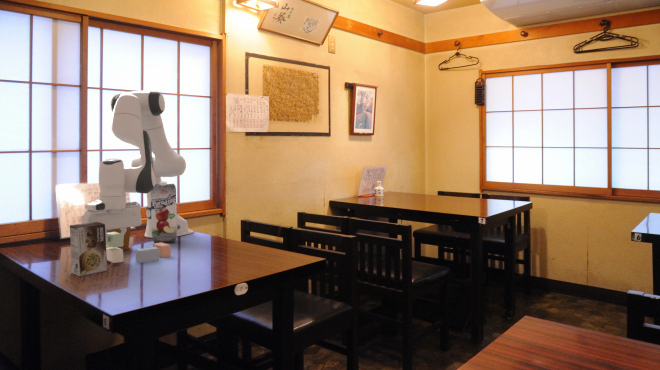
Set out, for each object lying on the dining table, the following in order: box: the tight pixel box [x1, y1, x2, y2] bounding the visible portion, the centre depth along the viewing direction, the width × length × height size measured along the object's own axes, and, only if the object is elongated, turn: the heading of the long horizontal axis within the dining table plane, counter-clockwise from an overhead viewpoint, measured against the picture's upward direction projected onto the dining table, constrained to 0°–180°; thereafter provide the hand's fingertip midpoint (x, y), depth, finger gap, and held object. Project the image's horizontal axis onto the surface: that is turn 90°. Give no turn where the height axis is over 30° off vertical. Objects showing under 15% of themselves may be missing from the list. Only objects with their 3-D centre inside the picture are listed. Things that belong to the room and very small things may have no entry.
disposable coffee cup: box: [108, 227, 132, 251], centre depth 193 cm, size 10×10×12 cm
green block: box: [106, 231, 124, 248], centre depth 172 cm, size 4×7×4 cm, turn 49°
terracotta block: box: [152, 243, 172, 258], centre depth 181 cm, size 4×7×4 cm, turn 48°
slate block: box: [135, 246, 160, 264], centre depth 172 cm, size 4×7×4 cm, turn 129°
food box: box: [69, 222, 108, 277], centre depth 155 cm, size 9×6×16 cm
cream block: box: [106, 247, 124, 264], centre depth 172 cm, size 4×7×4 cm, turn 45°
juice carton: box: [151, 180, 178, 244], centre depth 207 cm, size 9×10×27 cm
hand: (114, 241), depth 172 cm, fingers closed on green block, 3 cm apart
